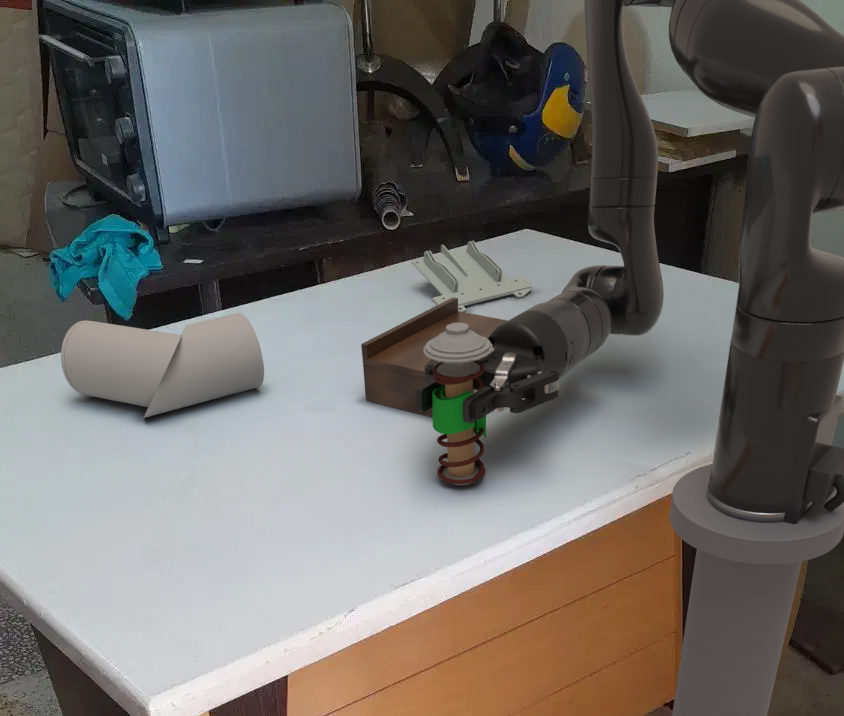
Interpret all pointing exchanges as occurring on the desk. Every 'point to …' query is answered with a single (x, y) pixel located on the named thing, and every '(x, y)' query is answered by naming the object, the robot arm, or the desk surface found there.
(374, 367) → the shelf
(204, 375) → the elbow connector
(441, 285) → the metal bracket
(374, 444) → the desk surface
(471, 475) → the shock absorber
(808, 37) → the robot arm
